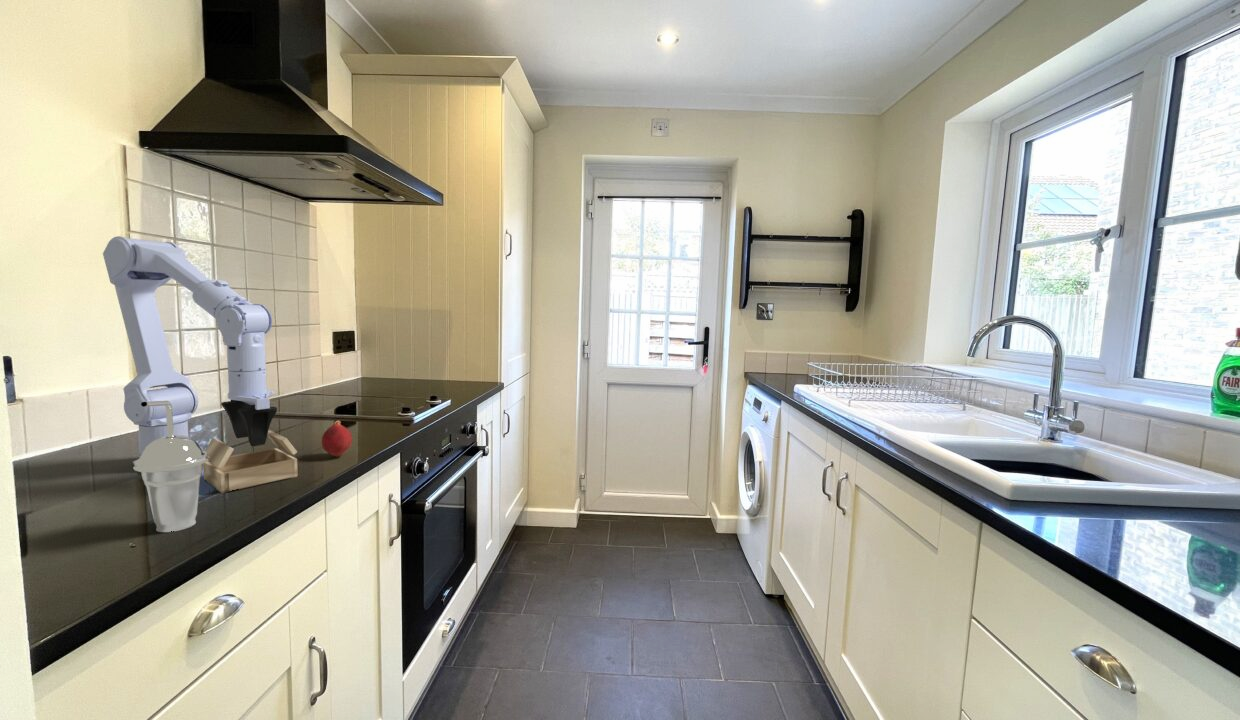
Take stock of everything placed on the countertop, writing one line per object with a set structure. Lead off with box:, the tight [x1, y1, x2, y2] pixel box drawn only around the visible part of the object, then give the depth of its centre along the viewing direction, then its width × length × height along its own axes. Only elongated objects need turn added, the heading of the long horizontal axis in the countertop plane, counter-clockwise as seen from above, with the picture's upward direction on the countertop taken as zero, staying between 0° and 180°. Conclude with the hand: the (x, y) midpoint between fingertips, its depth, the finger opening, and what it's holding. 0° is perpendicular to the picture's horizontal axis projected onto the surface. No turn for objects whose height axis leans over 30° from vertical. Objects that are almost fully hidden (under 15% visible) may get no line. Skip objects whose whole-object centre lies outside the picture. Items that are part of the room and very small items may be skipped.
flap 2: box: [267, 429, 298, 456], centre depth 100 cm, size 9×4×1 cm
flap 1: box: [204, 437, 235, 469], centre depth 92 cm, size 9×4×1 cm
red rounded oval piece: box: [321, 420, 353, 458], centre depth 111 cm, size 6×6×8 cm
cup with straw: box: [132, 401, 210, 533], centre depth 75 cm, size 8×9×20 cm
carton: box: [202, 447, 299, 494], centre depth 97 cm, size 11×12×4 cm
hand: (250, 441), depth 96 cm, fingers open, 7 cm apart
